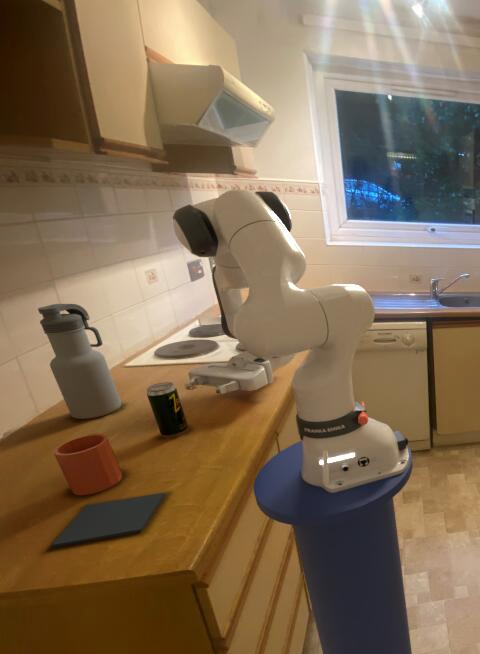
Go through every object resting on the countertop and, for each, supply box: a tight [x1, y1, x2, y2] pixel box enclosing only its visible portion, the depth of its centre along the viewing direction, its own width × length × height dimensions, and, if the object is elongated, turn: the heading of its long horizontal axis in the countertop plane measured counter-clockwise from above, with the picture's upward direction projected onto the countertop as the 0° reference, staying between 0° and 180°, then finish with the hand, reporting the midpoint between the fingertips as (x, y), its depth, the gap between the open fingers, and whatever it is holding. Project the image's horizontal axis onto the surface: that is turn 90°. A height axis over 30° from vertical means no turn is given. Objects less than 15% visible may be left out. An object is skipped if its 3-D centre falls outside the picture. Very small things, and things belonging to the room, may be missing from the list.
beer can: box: [146, 381, 189, 438], centre depth 101 cm, size 5×5×12 cm
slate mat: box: [51, 492, 166, 549], centre depth 76 cm, size 12×10×1 cm
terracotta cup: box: [53, 433, 123, 496], centre depth 83 cm, size 7×7×9 cm
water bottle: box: [37, 303, 122, 420], centre depth 107 cm, size 10×10×28 cm
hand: (202, 389), depth 109 cm, fingers open, 8 cm apart
